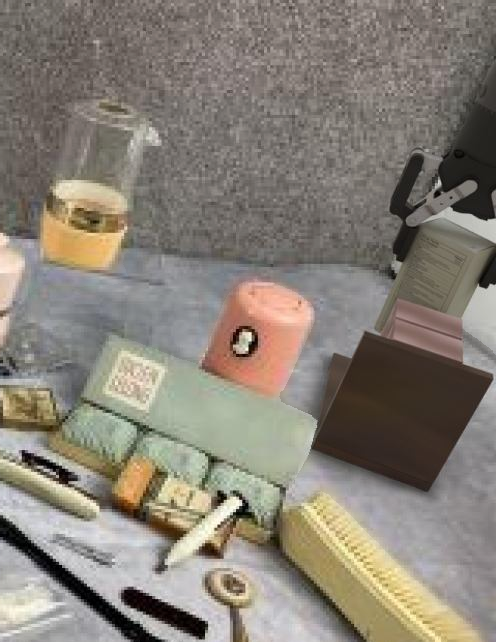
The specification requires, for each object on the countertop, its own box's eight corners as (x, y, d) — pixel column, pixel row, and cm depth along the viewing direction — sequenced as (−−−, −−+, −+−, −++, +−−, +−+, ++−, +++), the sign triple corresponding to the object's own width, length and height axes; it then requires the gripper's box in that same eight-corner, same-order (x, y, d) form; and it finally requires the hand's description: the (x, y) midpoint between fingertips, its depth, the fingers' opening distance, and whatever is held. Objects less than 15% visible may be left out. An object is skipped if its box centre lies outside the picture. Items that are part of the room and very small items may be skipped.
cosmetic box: (445, 351, 94) (502, 245, 87) (421, 361, 92) (477, 253, 85) (393, 319, 98) (444, 215, 91) (368, 328, 96) (418, 221, 89)
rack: (330, 359, 103) (376, 256, 96) (431, 394, 101) (487, 291, 93) (311, 448, 89) (363, 335, 82) (428, 492, 86) (493, 379, 79)
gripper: (604, 118, 82) (514, 280, 92) (438, 74, 85) (368, 234, 95) (616, 143, 76) (519, 313, 86) (437, 94, 80) (362, 263, 89)
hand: (440, 271), depth 90 cm, fingers closed on cosmetic box, 7 cm apart
